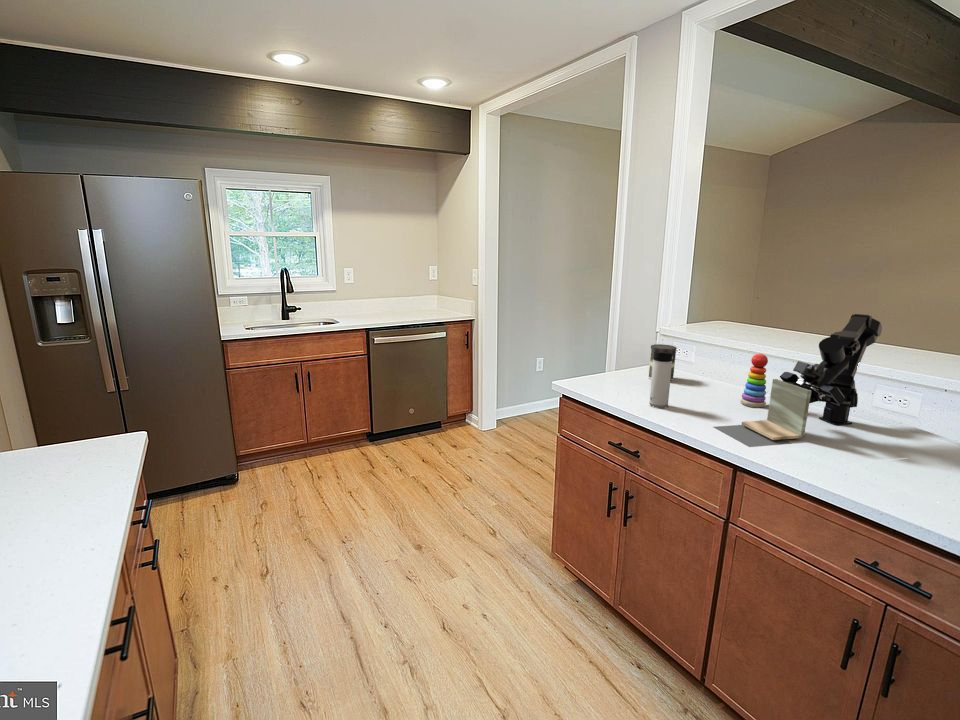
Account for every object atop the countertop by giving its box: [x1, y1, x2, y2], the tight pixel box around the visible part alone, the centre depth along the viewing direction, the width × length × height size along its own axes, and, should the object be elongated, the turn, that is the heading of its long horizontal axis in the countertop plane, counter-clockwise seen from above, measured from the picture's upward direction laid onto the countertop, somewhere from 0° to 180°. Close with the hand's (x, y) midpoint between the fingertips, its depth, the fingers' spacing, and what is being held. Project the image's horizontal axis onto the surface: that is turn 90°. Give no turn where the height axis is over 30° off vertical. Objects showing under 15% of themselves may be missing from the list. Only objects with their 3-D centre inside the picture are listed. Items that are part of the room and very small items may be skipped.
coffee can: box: [648, 343, 678, 381], centre depth 208 cm, size 10×10×14 cm
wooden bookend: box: [741, 378, 811, 441], centre depth 145 cm, size 10×13×15 cm
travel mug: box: [648, 351, 673, 409], centre depth 171 cm, size 6×7×20 cm
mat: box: [713, 424, 793, 448], centre depth 146 cm, size 14×16×1 cm
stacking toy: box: [739, 353, 769, 408], centre depth 173 cm, size 8×8×19 cm
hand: (790, 407), depth 146 cm, fingers closed, pressing on wooden bookend
